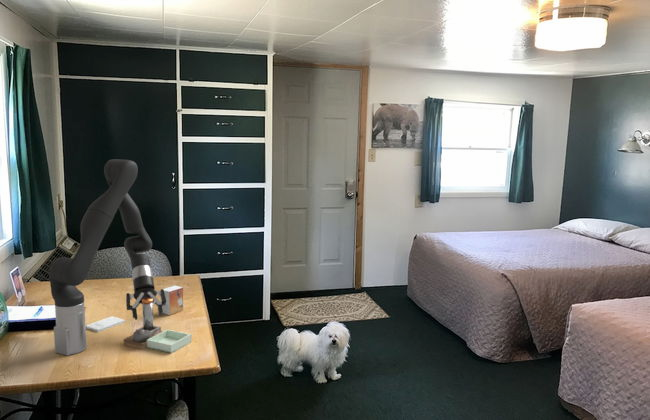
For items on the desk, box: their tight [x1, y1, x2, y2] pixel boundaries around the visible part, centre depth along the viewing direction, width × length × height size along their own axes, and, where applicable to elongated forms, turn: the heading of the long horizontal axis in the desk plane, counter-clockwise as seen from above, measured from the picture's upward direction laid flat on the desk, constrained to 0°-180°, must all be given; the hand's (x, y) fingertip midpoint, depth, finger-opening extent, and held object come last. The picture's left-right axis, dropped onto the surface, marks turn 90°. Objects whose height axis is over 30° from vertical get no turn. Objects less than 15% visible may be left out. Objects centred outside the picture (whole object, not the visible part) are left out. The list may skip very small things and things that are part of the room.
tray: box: [146, 329, 192, 354], centre depth 186 cm, size 11×11×3 cm
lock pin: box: [142, 298, 154, 331], centre depth 191 cm, size 4×4×13 cm
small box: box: [159, 285, 184, 316], centre depth 219 cm, size 8×6×10 cm
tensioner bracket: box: [123, 325, 164, 350], centre depth 189 cm, size 12×9×5 cm
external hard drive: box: [86, 315, 126, 333], centre depth 204 cm, size 2×8×12 cm
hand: (148, 317), depth 191 cm, fingers open, 8 cm apart
